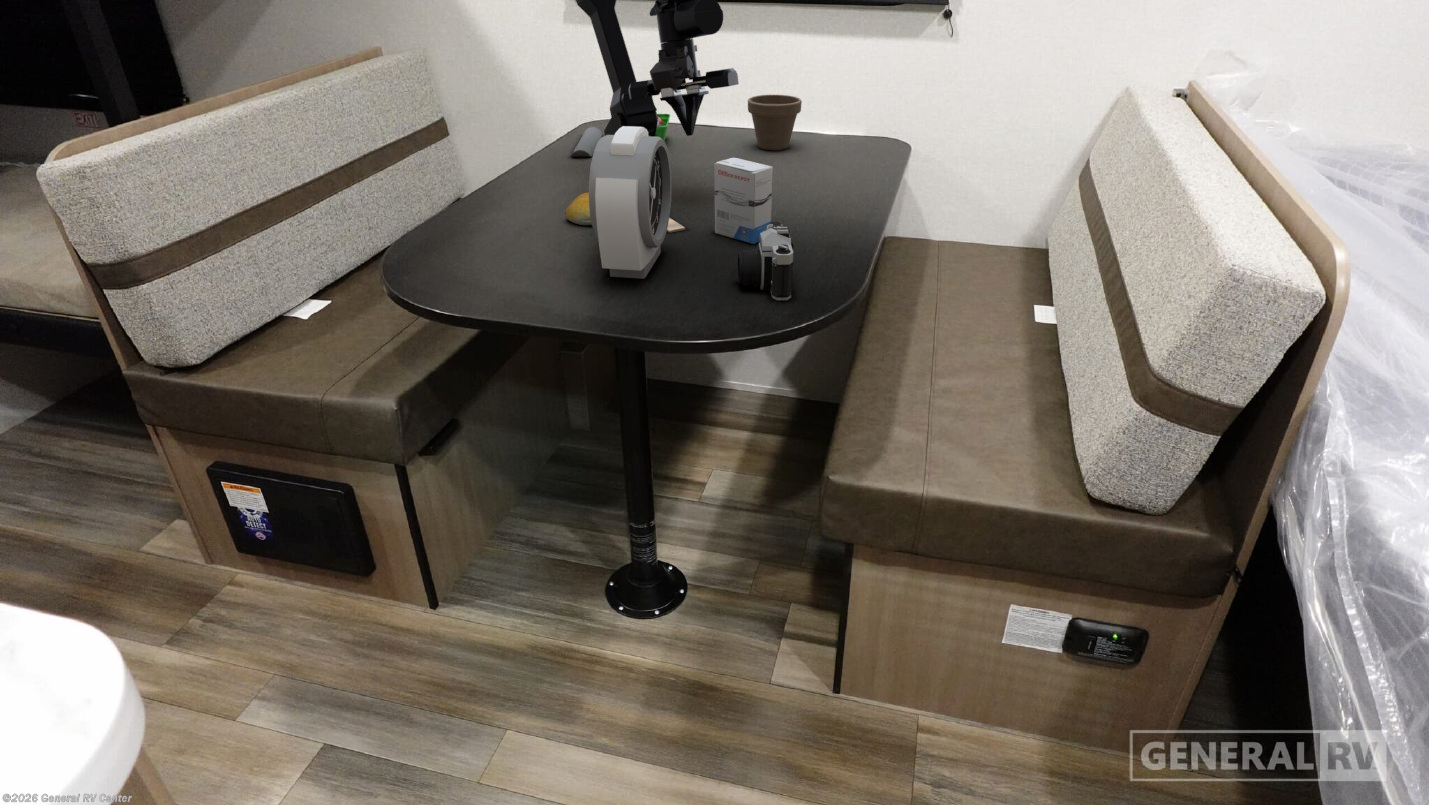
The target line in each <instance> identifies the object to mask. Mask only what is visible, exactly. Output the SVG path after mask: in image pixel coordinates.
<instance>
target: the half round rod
mask: <svg viewBox="0 0 1429 805" xmlns="http://www.w3.org/2000/svg"><path fill="white" fill-rule="evenodd" d="M602 135H603V133H602V130H600V129H599V128H598V127H595V126H590V127H588V128H586V129H585V131H583V133H582V135H581V138H580V140H579V141H578V142H577V145H576V147H575V148H574V150H573V152H572V153H571V157H576V158H577V157H579V158H580V157H581V158H583V157H585V158H586V157H587V158H588V157H593V153H594V150H595V147H596V145H597V143H598V141H599V140H600V138H601V137H603V136H602Z"/></svg>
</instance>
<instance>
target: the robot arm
mask: <svg viewBox="0 0 1429 805" xmlns="http://www.w3.org/2000/svg"><path fill="white" fill-rule="evenodd" d="M617 1H618V0H575V2H576V4H577V6H578V7H579V8H580V9H581V10H582V11H583V12H584V13H585V14H586V15H587V16H588V17H589V20H590V22H591V25H592V29H593V32H594V35H595V38H596V41H597V45H598V47H599V51H600V55H601V58H602V61H603V64H604V67H605V72H606V73H607V77H608V80H609V84H610V87H611V91H612V97H611V101H610V105H609V113H610V117H611V118H610V119H609V121H608V122H607V124H606V126H605V128H604V129H603V133H604V136H606V135H615V133H616V132H617V131H618V129H619V128H621V127H622V126H632V127H644V128H645V129H647V131H648V136H650V137H655V134H656V128H657V122H658V116H657V114H658V112H657V111H658V109H657V107H656V105H655V102H654V99H653V98H654V97H655V96H659V95H661V97H659V100H660V101H661V102H663V101H664V102H665V103H667V104H668V105H669V106H670V107H671V108H672V110H673V111H674V114H675V115H676V117H677V119H678V120H679V123H680V125H681V127H682V129H683V131H684V133H685V136H687V137H689V136H693V135H694V131H695V128H696V127H695V126H696V123H697V119H698V116H699V111H700V109H701V105H702V102H703V99H704V98H705V97H704V96H705V95H708V94H710V92H709V90H707V87H708V88H709V89H710V90H712V89H713V90H714V89H721V88H728V87H732V86H737V85H739V84H740V83H739V76H738V72H737V71H736V69H735V68H734V67H731V68H724V69H723V68H722V69H717V70H710V71H705V75H701V70H700V69H699V70H698V63H697V57H696V52H698V45H697V44H695V40H694V39H695V38H701V37H707V36H710V35H711V36H712V35H715V34H717V33H718V32H719V31H720V29H721V28H722V26H723V23H724V11H723V9H722V7H721V5H720V4H719V2H718V1H717V0H655V1H654V5H653V6H652V8H650V11H649V16H650V17H656V24H657V28H658V30H657V31H658V38H659V44H660V49H658V61H657V62H656V63H655V64H654V65H653V67H652V68H651V69H650V70H649V75H650V79H646V80H645V79H644V80H638V81H637V78H636V75H635V71H634V68H633V65H632V61H631V57H630V55H629V51H628V47H627V45H626V41H625V38H624V35H623V32H622V28H621V25H620V21H619V18H618V15H617V12H616V5H617ZM687 79H688V80H689V81H687ZM682 90H685V92H686V93H682ZM653 96H654V97H653Z"/></svg>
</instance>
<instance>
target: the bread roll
mask: <svg viewBox="0 0 1429 805" xmlns="http://www.w3.org/2000/svg"><path fill="white" fill-rule="evenodd" d="M565 217H566V219H567V220H568V221H569V222H571V223H573V224H576V225H579V226H580V225H581V226H592V222H591V217H590V209H589V191H588V192H584V193H581V194H579V195H578V196H577V197H576V198H575V199H574V200H573V201H572V202H571V203H570V205H568V207H567V208H566V210H565Z"/></svg>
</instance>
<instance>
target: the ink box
mask: <svg viewBox="0 0 1429 805" xmlns="http://www.w3.org/2000/svg"><path fill="white" fill-rule="evenodd" d="M713 165H714V166H713V167H714V169H713V170H714V171H713V173H714V175H713V176H714V178H713V179H714V180H713V182H714V185H713V186H714V233H715V234H716V235H720V236H724V237H728V238H730V239H735V240H737V241H740V242H744V243H748V244H751V245H755V244H757V243H759V242H760V233H762V232H764V231H765V229H767V226H768V225H769V224H770V223H771V222H772V208H773V207H772V206H773V204H772V202H773V198H772V197H773V169H774V168H773V166H771V165H767V164H763V163H760V162H755V161H750V160H746V159H742V158H738V157H735V156H734V157H730V158H727V159H722V160H719V161H718V160H717V161H716V162H714V164H713Z"/></svg>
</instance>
